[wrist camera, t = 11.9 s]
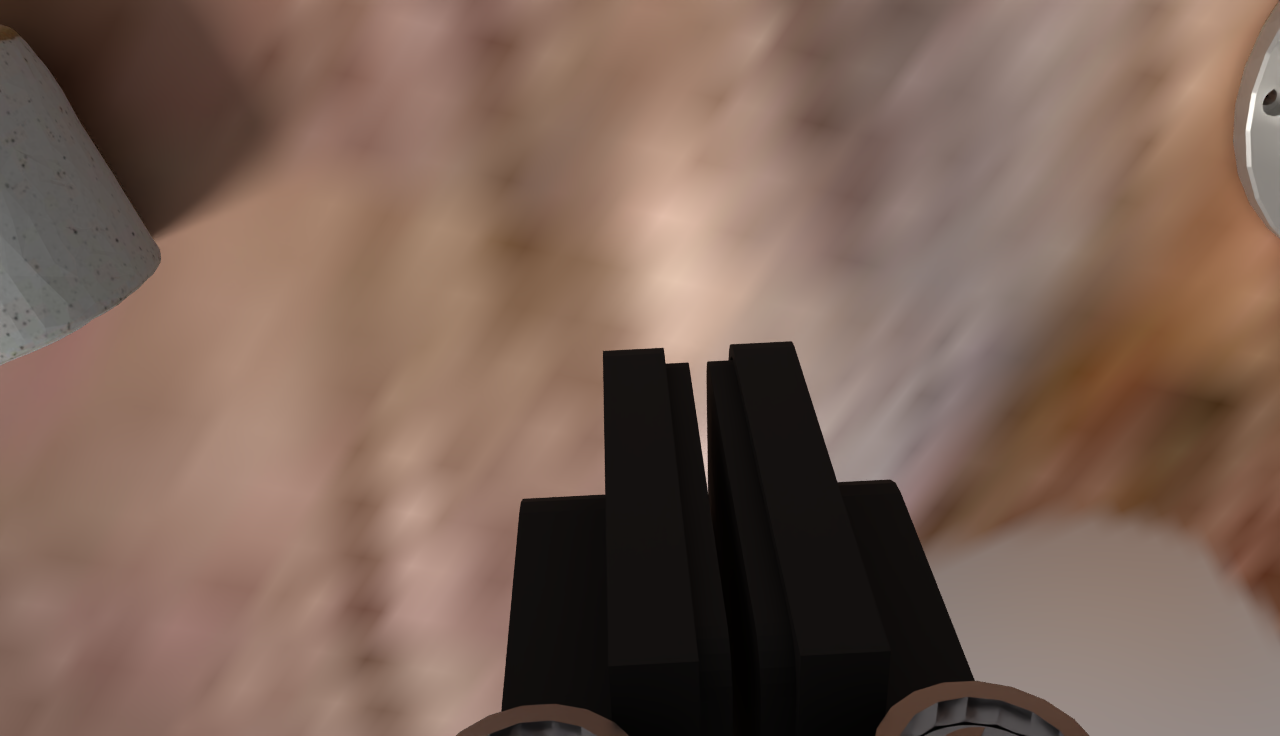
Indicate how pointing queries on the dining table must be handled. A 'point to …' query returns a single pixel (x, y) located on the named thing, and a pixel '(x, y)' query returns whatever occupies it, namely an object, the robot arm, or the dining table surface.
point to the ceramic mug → (57, 213)
